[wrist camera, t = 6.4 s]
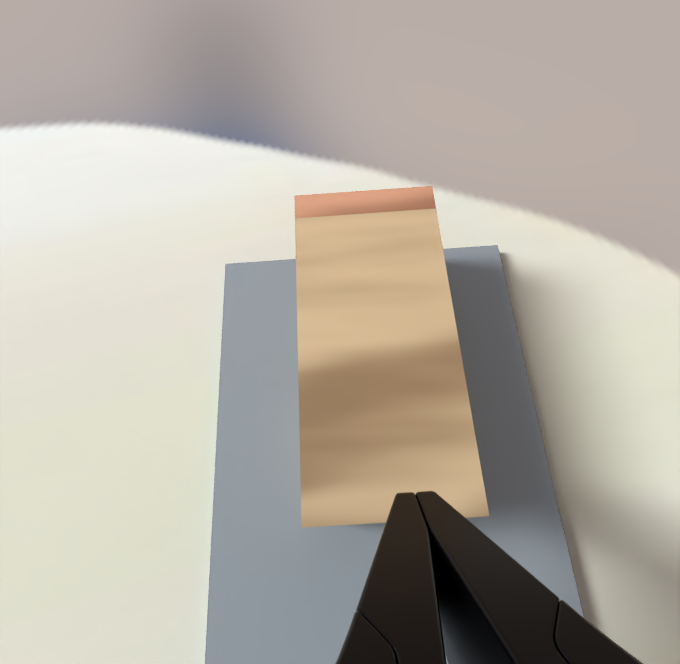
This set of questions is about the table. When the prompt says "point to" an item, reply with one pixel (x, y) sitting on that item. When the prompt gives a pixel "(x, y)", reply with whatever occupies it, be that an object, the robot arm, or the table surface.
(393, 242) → the oak block
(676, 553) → the table surface
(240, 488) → the mat
